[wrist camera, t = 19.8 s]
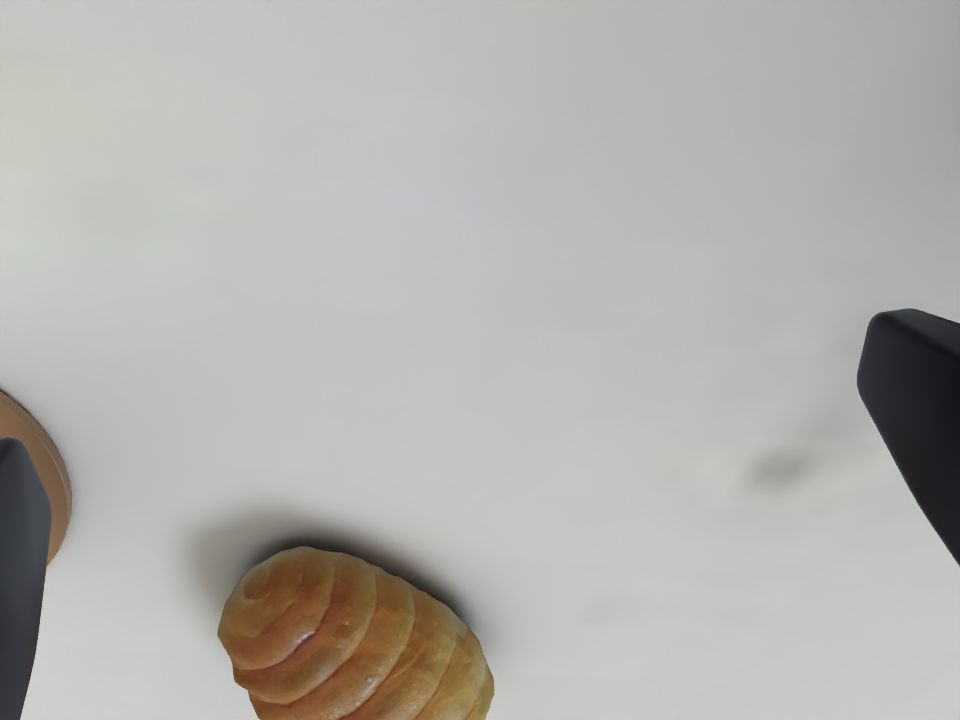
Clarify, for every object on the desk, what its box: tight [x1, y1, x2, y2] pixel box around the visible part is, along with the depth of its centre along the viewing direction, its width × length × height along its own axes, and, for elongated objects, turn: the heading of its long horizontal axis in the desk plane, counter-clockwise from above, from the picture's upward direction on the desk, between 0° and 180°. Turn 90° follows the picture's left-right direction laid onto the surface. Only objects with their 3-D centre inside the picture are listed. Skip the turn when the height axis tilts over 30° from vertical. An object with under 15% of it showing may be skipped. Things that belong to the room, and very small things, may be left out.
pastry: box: [218, 546, 494, 720], centre depth 27 cm, size 9×7×4 cm
